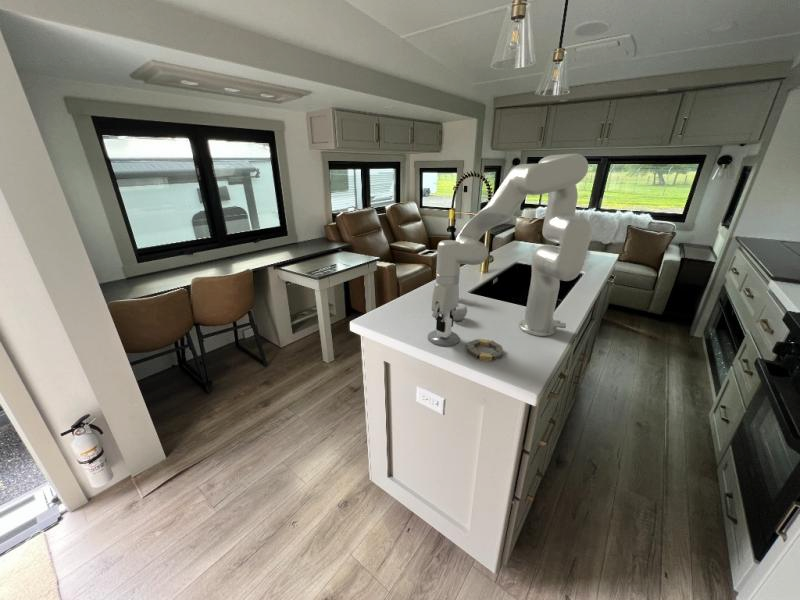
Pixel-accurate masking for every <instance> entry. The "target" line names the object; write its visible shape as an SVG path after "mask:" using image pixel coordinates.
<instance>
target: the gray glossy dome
mask: <svg viewBox="0 0 800 600" xmlns="http://www.w3.org/2000/svg"><path fill="white" fill-rule="evenodd" d="M427 340H428V341H429V342H430V343H431V344H433V345H435V346H438V347H439V346H440V347H451V346H455V345H457V344H458V343H459V341H460V337H459V335H458V334H457V333H456V332H453V331H452V330H451V334H450V335H449V336H448V337H447V338H445V337H441V336H438V335H437V330H436V329H435V330H432V331H430V332H429V333H428V334H427Z"/></svg>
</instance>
